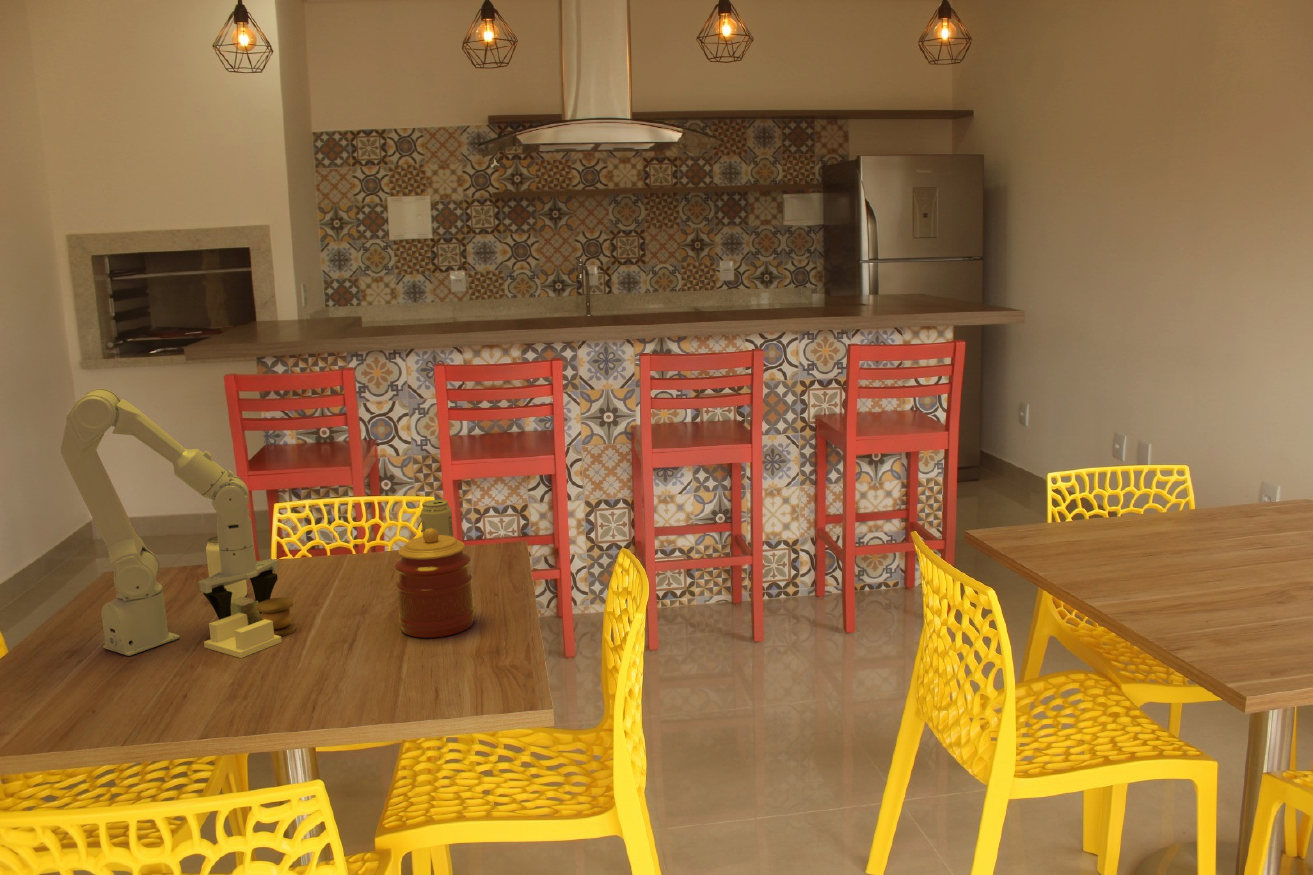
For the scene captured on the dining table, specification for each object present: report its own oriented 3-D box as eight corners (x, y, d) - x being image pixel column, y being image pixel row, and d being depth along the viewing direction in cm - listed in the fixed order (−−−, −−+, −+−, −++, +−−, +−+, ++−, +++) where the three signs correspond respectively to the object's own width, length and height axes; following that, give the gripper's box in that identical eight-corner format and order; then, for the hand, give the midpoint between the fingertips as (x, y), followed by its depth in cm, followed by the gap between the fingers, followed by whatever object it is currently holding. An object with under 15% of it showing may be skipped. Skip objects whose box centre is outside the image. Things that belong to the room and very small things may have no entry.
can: (223, 605, 200) (216, 544, 198) (205, 599, 204) (198, 539, 202) (254, 595, 205) (247, 536, 203) (235, 590, 209) (229, 531, 207)
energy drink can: (424, 571, 216) (418, 500, 214) (454, 568, 218) (448, 497, 215) (427, 580, 211) (421, 507, 208) (457, 576, 212) (452, 504, 210)
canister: (401, 643, 177) (392, 542, 174) (398, 618, 189) (390, 523, 186) (479, 633, 180) (471, 534, 177) (471, 609, 193) (464, 515, 190)
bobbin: (274, 640, 181) (271, 611, 180) (252, 634, 184) (249, 605, 183) (303, 628, 186) (300, 600, 185) (281, 623, 189) (278, 595, 188)
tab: (246, 632, 185) (243, 605, 184) (230, 628, 188) (227, 601, 187) (260, 627, 188) (257, 600, 187) (245, 623, 190) (242, 596, 189)
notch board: (240, 658, 173) (238, 635, 173) (204, 647, 179) (201, 624, 178) (281, 642, 180) (279, 619, 179) (245, 632, 185) (242, 610, 185)
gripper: (213, 560, 177) (222, 637, 179) (285, 538, 189) (293, 610, 191) (188, 554, 181) (197, 630, 183) (260, 534, 193) (268, 604, 195)
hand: (244, 619), depth 187 cm, fingers open, 7 cm apart
